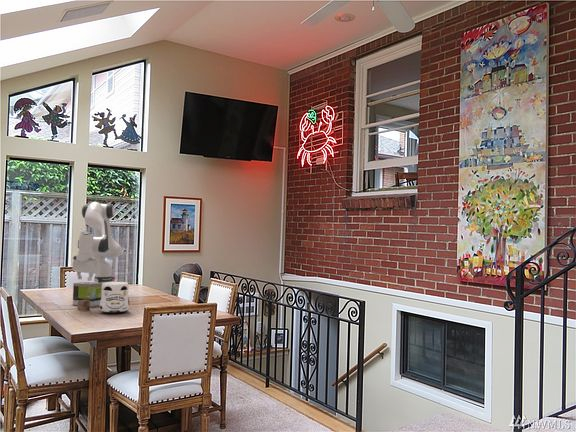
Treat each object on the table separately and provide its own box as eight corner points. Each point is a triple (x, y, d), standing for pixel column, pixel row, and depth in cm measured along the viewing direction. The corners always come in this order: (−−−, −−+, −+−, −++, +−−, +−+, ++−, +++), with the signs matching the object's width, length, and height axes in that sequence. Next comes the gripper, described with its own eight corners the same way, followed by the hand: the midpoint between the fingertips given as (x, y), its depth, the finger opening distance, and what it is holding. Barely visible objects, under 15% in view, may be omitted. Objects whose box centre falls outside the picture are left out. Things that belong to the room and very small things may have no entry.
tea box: (101, 304, 326) (102, 282, 326) (90, 307, 316) (91, 284, 317) (83, 303, 331) (83, 281, 331) (72, 305, 321) (72, 282, 321)
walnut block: (84, 309, 310) (84, 299, 310) (89, 310, 307) (90, 300, 308) (77, 310, 306) (77, 300, 306) (82, 311, 303) (83, 301, 303)
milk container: (111, 316, 290) (113, 285, 291) (93, 312, 300) (94, 283, 300) (135, 312, 305) (136, 283, 305) (116, 308, 314) (117, 280, 314)
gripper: (100, 258, 304) (99, 280, 304) (79, 256, 315) (78, 278, 315) (92, 258, 299) (91, 281, 299) (70, 256, 309) (69, 278, 309)
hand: (84, 279), depth 307 cm, fingers open, 8 cm apart
